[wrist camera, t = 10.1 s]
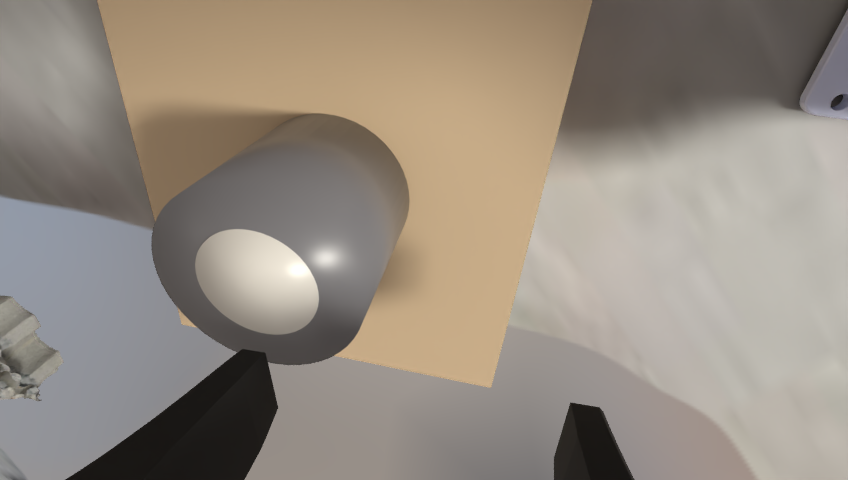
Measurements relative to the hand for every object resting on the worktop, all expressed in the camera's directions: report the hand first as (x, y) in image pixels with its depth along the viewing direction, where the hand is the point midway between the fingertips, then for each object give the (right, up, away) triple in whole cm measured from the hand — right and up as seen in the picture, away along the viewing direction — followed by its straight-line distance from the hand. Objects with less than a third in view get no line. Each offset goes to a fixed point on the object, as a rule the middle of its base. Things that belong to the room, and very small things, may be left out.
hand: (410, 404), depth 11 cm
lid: (-3, +5, +5) cm, 8 cm away
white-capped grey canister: (-3, +5, +4) cm, 7 cm away
